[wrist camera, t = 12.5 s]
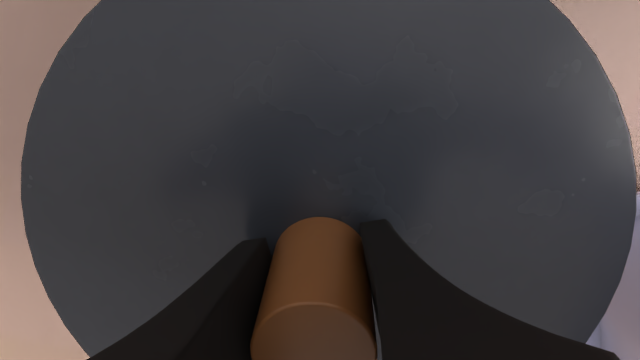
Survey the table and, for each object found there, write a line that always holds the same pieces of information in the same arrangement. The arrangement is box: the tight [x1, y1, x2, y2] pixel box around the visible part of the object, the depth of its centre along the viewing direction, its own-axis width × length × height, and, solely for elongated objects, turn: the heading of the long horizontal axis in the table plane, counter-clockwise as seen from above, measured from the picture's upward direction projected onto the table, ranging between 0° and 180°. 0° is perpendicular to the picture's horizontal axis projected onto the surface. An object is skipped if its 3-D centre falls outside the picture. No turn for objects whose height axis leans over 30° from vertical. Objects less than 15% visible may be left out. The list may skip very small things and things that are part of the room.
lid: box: [21, 0, 636, 360], centre depth 10 cm, size 15×15×4 cm
